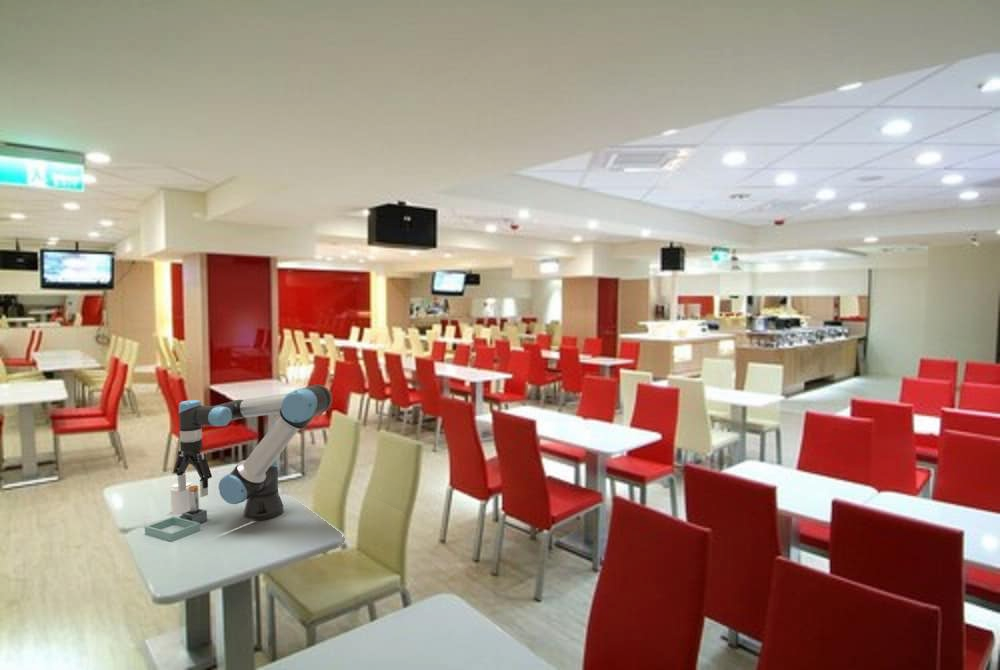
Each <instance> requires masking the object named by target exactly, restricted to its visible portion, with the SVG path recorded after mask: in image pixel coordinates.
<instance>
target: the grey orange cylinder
mask: <svg viewBox="0 0 1000 670" xmlns="http://www.w3.org/2000/svg"><path fill="white" fill-rule="evenodd" d="M199 497H200V494H199V486H198V485H193V486H190V487H189V504H190V514H192V515H193V514H196V513H199V509H200V499H199Z"/></svg>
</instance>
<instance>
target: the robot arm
mask: <svg viewBox="0 0 1000 670" xmlns="http://www.w3.org/2000/svg"><path fill="white" fill-rule="evenodd" d="M332 402H333V396H332V392H331V391H330V389H328V388H327V387H326V386H324V385H322V384H313V385H309V386H306V387H302V388H296V389H294V390H292V391H290V392H287V393H281V394H274V395H267V396H260V397H252V398H246V399H242V398H241V399H235V400H231V401H229V402H225V403H221V404H217V405H208V406H205V405H202V401H200V400H198V399H189V400H184V401H181V402H179V405H178V417H179V419H178V421H179V440H180V442H179V448H180V449H179V450H178V451H177V457H176V462H175V464H174V468H173V472H172V473H174V474H176V476H177V483H178V492H182V491H185V490H186V482H187V478H186V476H187V475H186V471H187V469H188V466H189V465H191V466H192V467H194V468H195V470H196V473H197V474H198V476H199V478H200V479H199V497H200V498H204V497H207V496H209V490H208V489H209V479H211V478H213V476H212V472H211V469H210V465H209V463H208V460H207V454H206V453H201V452H200V451H201V450H202V449H203V440H202V438H203V430H202V428H203V427H204V426H205V427H207V426H208V427H225V426H227V425H228V424H229V423H230V422H231V421H234V420H239V419H240V420H241V419H246V418H254V417H260V416H261V417H262V416H268V415H269V416H270V415H276V414H278V415H279V417H278V418H277V420H276V421H275V422H274V423H273V425H272V426H271V427H270V428H269V430H268V431H267V432H266V434H265V435H264V437H263V438H262V439H261V440H260V441H259V442H258V444H257V446H256V447H255V448H254V449H253V451H252V452H251V453H250V455H249V456H248V457H247V458H246V459H245V460H243V459H242V460H241V461H239V462H238V463H237V464H236V466H235V467H234V468H233V469H232V471H231V472H230V473H229V474H226V475H224V476H223V477H222V478H221V479H220V481H219V483H218V491H219V496H220V497H221V499H223V500H224V502H226V503H227V504H230V505H238V504H241V503H244V502H245V501H246V502H245V507H244V509H243V517H244V518H247V519H250V520H251V519H252V521H264V520H270V519H274V518H276V517H278V516H281V515H282V514H283V513H284V510H285V509H284V503H283V501H282V500H281V499H282V498H281V496H280V494H279V466H278V462H277V458H278V457H279V456H280V455H281V453H282V452H283V451H284V450H285V448H286V447H287V446H288V444H289V443H290V442H291V440H292V439H293V438H294V436H295V435H296V434H297V433H298V432H299V431H300V430H304V429H306V428H308V425H309V424H310V423H311V422H312V420H314V418H315V417H316V416H318V415H322V414H324V413H326V411H329V409H330V408H331V405H332ZM202 426H203V427H202Z"/></svg>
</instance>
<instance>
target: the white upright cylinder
mask: <svg viewBox="0 0 1000 670" xmlns="http://www.w3.org/2000/svg"><path fill="white" fill-rule="evenodd" d="M190 486H194V485H193V483H192V482H191V481H186V490H185V491H182V492H178V482H177V483H173V484H172V485H171V488H170V502H171V503H170V504H171V514H173V515H182V513H185V512H188V511H190V504H189V487H190Z"/></svg>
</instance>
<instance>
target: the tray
mask: <svg viewBox="0 0 1000 670" xmlns="http://www.w3.org/2000/svg"><path fill="white" fill-rule="evenodd" d="M171 526H178V527H181V529H178V530H176V531H173V532H171V531H168V530H163V529H166V528H168V527H171ZM200 531H201V524H200V523H198V522H194V521H190V520H186V519H182V518H180V517H178V516H171V517H169V518H168V517H167V518H165V519H163V520H160V521H157V522H154V523H151V524H149V525H145V526H144V535H147V536H150V537H154V538H157V539H161V540H163V541H164V540H165V541H167V542H175V541H177V540H180V539H182V538H185V537H187V536H190V535H193V534H195V533H197V532H200Z"/></svg>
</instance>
